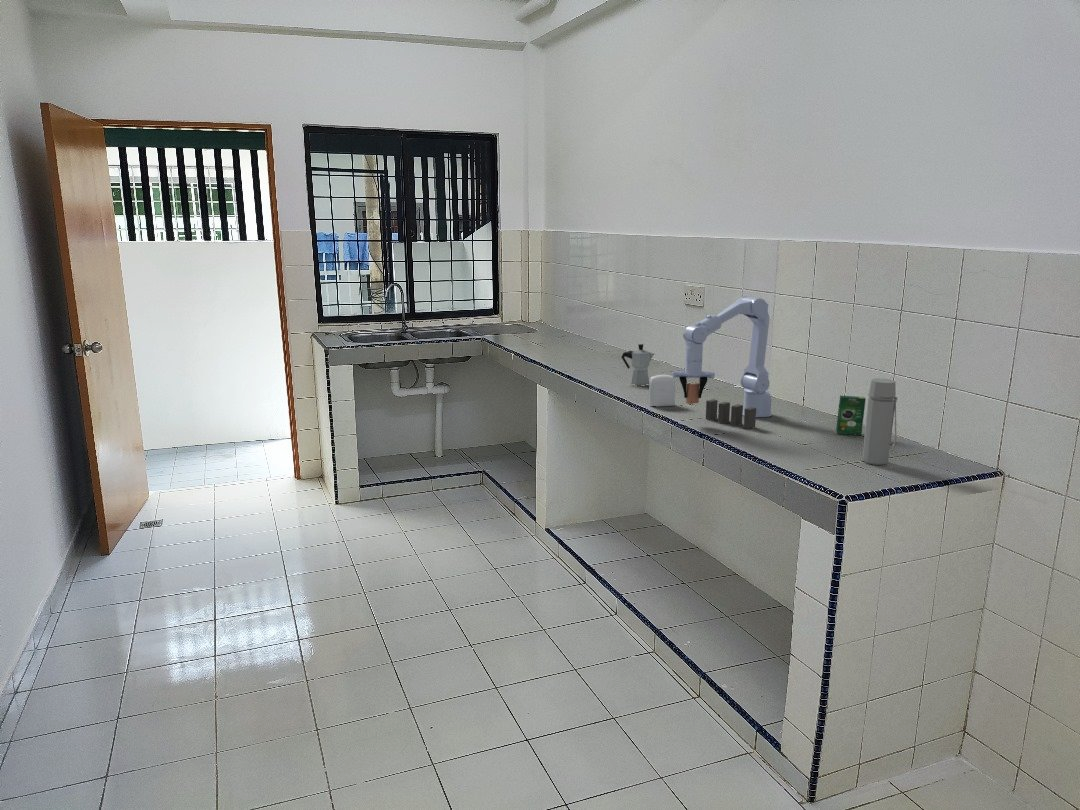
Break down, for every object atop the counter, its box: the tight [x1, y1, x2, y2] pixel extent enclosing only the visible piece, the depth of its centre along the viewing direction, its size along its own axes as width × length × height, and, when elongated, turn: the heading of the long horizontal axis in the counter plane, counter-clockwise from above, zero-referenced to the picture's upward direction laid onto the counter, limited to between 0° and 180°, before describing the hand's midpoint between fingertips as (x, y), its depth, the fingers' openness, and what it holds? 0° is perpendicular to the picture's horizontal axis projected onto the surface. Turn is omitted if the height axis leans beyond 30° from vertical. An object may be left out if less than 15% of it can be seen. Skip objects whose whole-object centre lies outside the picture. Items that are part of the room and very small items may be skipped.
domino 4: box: [743, 407, 757, 430], centre depth 269 cm, size 2×4×7 cm, turn 130°
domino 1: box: [705, 398, 719, 421], centre depth 281 cm, size 2×4×7 cm, turn 130°
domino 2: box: [717, 401, 731, 424], centre depth 277 cm, size 2×4×7 cm, turn 130°
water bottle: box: [862, 378, 898, 466], centre depth 227 cm, size 9×8×25 cm
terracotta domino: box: [685, 382, 700, 405], centre depth 274 cm, size 2×4×7 cm, turn 118°
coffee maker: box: [621, 343, 655, 385], centre depth 340 cm, size 15×9×18 cm, turn 84°
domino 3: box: [730, 403, 744, 427], centre depth 273 cm, size 2×4×7 cm, turn 130°
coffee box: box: [835, 395, 866, 436], centre depth 259 cm, size 8×3×13 cm, turn 77°
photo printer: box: [648, 374, 676, 407], centre depth 301 cm, size 10×4×12 cm, turn 96°
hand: (692, 397), depth 274 cm, fingers closed on terracotta domino, 4 cm apart
